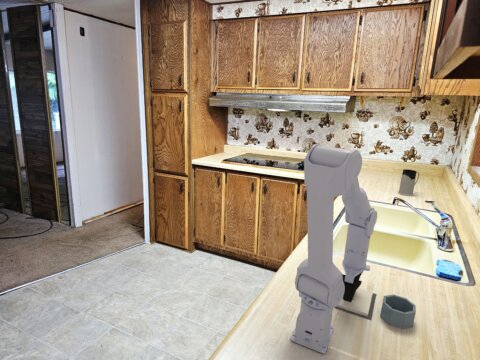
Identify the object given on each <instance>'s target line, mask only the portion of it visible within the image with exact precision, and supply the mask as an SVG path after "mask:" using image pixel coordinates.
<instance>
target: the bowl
mask: <svg viewBox="0 0 480 360" xmlns="http://www.w3.org/2000/svg"><path fill="white" fill-rule="evenodd" d="M416 309H417V306H416V304H415V303H413V302H412V301H410V300H409V299H408V298H407V297H404V296H399V295H396V294H388V295H383V297H382V303H381V310H380V314H379V316H380V317H381V319H383V320H384V321H385V323H387V324H388V325H391V326H394V327H396V328H399V329H401V330H402V329H409V328H413V326H414V323H415V322H414V321H415V318H416V311H417V310H416Z"/></svg>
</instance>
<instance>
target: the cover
mask: <svg viewBox="0 0 480 360" xmlns="http://www.w3.org/2000/svg"><path fill="white" fill-rule="evenodd" d="M373 293H374V292H373V291H371V290H367V289H364V288H363V289H362V288H360V287H359V288H358V289H357V290H356V292H355V294H354V297H353V300H352V302H347V301H344V300H343V298H342V300H341V302H340V303H339V305H338V306H337V307H340V308H343V309H346V310H349V311H352V312H355V313H358V314H361V315H364V316H367V317H368V313H369V308H370V304H371V299H372V294H373Z"/></svg>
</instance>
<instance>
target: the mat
mask: <svg viewBox="0 0 480 360" xmlns="http://www.w3.org/2000/svg"><path fill="white" fill-rule="evenodd" d="M376 299H377V293H375V292H373V294H372V299H371V304H370V308H369V313H368V317H367V316H364V315H361V314H358V313H355V312H352V311H349V310H346V309H343V308H340V307H337V306H336V307H335V308H334V309H336V310H338V311H342V312H344V313H347V314H351V315H353V316H357V317H360V318H362V319H364V320H365V319H366V320H369V321H372V319H373V313H374V309H375V304H376Z"/></svg>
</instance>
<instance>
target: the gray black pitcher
mask: <svg viewBox="0 0 480 360" xmlns="http://www.w3.org/2000/svg"><path fill="white" fill-rule="evenodd" d="M400 177H401V178H400V183H399V188H398V189H399V190H398V191H397V194H398V195H401V196H406V197H414V189H415V186H416V184H417V183H418V181H419V179H420V172H419V171H417V170H415V169H409V168H408V169H407V168H405V169H403V170H402V174H401V176H400ZM416 177H417V179H416Z"/></svg>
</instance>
